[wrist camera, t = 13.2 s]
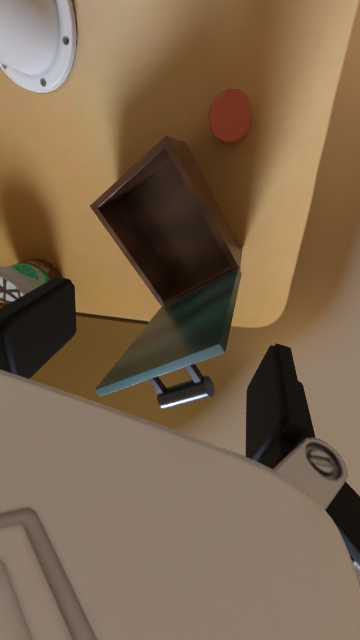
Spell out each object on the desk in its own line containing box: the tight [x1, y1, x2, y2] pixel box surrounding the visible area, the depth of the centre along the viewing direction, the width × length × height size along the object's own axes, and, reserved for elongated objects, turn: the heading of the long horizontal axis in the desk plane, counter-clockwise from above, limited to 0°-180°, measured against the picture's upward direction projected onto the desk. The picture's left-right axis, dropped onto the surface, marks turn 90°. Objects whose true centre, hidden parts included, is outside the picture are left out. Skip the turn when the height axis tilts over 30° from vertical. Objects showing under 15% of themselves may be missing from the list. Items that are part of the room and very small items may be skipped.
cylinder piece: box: [209, 89, 251, 145], centre depth 28 cm, size 4×4×5 cm
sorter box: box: [90, 136, 242, 307], centre depth 35 cm, size 17×13×8 cm
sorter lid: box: [95, 268, 241, 409], centre depth 27 cm, size 17×13×5 cm
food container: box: [0, 259, 61, 303], centre depth 45 cm, size 12×6×10 cm, turn 79°
